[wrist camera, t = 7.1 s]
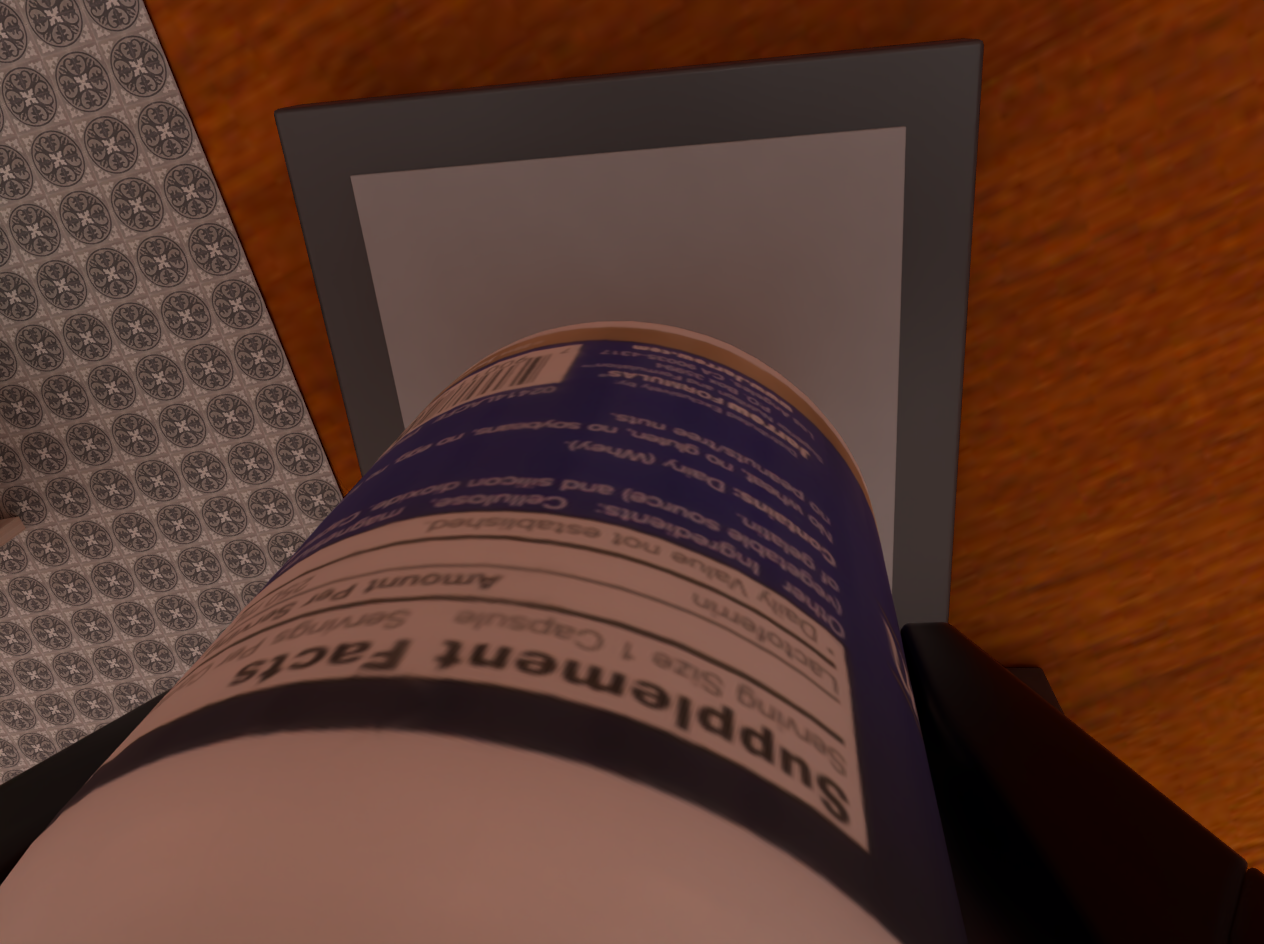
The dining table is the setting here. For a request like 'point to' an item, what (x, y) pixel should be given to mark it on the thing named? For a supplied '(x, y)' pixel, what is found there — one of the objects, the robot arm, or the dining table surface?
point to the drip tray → (672, 244)
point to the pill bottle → (540, 693)
